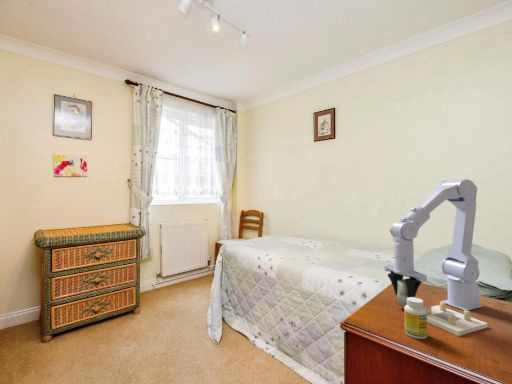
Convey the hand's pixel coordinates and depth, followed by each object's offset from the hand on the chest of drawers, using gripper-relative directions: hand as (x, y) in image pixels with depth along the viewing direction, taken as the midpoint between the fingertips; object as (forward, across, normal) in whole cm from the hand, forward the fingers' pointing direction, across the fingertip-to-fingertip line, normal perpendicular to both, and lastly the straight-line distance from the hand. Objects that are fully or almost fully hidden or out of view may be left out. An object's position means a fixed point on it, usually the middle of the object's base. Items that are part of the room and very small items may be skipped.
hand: (404, 297), depth 89 cm
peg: (+3, 0, 0) cm, 3 cm away
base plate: (+4, +11, +4) cm, 13 cm away
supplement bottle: (+4, +13, -12) cm, 18 cm away
